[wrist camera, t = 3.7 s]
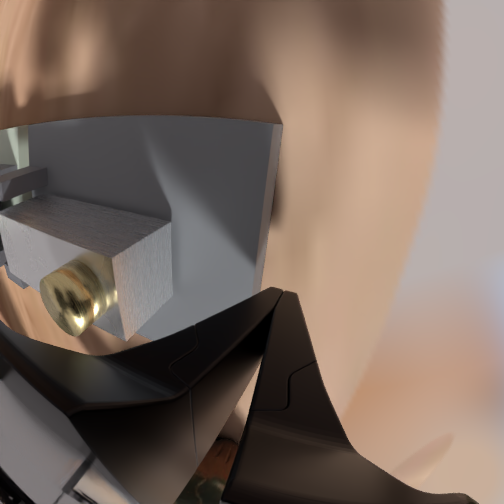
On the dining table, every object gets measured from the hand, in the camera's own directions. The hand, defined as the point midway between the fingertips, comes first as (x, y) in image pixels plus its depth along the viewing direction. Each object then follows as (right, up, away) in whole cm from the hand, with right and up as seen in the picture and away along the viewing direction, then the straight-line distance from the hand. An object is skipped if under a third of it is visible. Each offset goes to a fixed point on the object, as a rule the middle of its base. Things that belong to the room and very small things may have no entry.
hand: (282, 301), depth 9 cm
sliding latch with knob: (-9, +3, +4) cm, 11 cm away
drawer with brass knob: (-8, +2, +2) cm, 8 cm away
